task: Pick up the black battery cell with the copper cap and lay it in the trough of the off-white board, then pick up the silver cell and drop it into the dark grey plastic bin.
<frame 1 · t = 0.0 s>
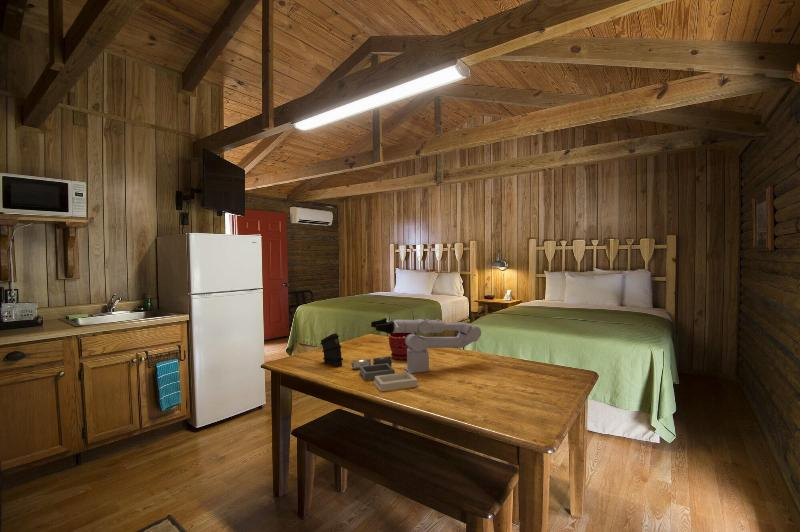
hand: (373, 326, 167), 22 cm above the table, tool horizontal, fingers open, 7 cm apart
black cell: (382, 365, 182), on the table
silver cell: (361, 368, 178), on the table
trough board: (395, 384, 156), on the table
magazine: (331, 364, 186), on the table
plant pot: (402, 357, 194), on the table
bin: (376, 375, 168), on the table
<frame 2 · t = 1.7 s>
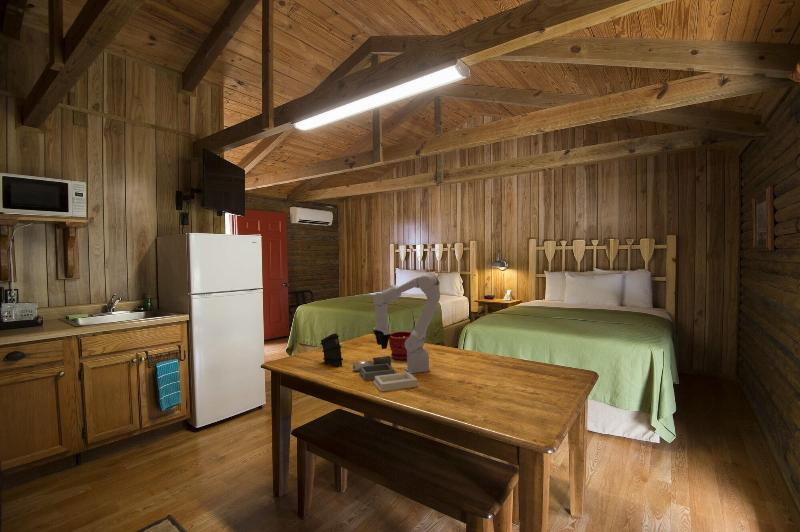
hand: (381, 346, 181), 9 cm above the table, tool pointing down, fingers open, 7 cm apart
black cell: (382, 365, 182), on the table, tilted 27°
silver cell: (362, 364, 177), point 2 cm above the table, tilted 88°
everything else where it was.
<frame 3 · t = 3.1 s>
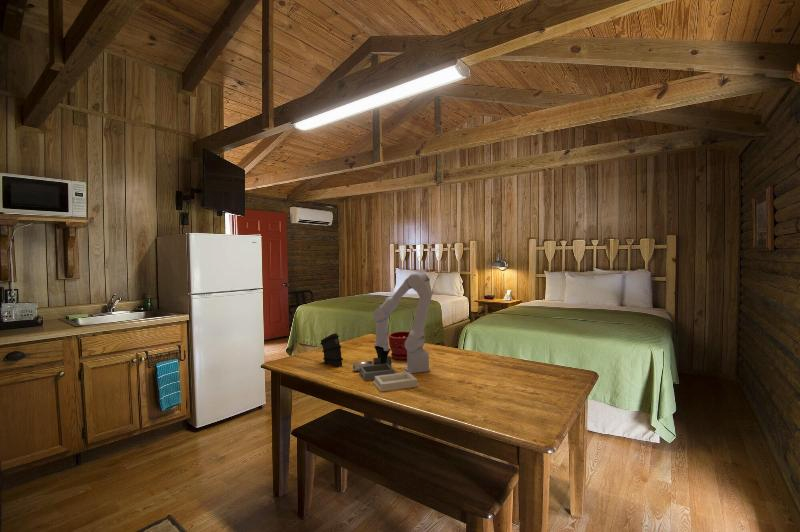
hand: (382, 362, 182), 2 cm above the table, tool pointing down, fingers closed on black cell, 4 cm apart
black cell: (382, 365, 182), on the table, touching gripper
silver cell: (362, 364, 177), point 2 cm above the table, tilted 95°
everything else where it was.
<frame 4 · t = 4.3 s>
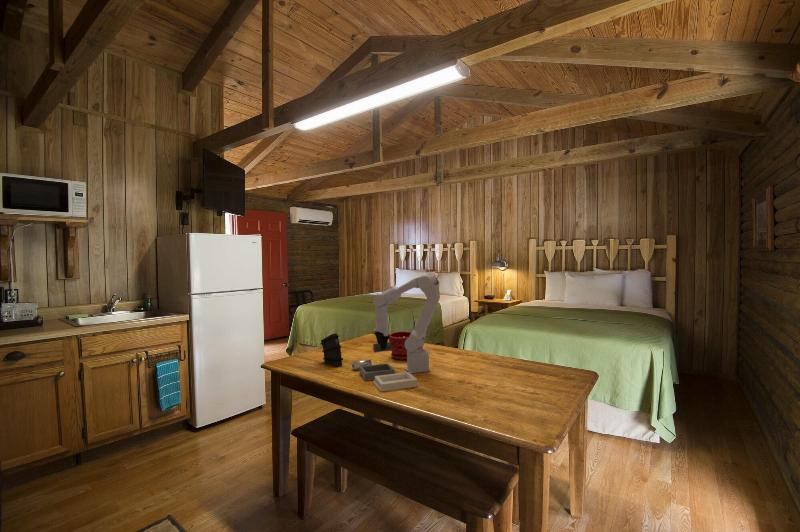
hand: (382, 348, 181), 8 cm above the table, tool pointing down, fingers closed on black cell, 4 cm apart
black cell: (382, 351, 181), point 7 cm above the table, touching gripper
silver cell: (361, 367, 178), on the table, tilted 35°
everything else where it was.
when the fingers open (4 cm above the table, at t = 7.2 s): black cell drops 1 cm, resting on trough board.
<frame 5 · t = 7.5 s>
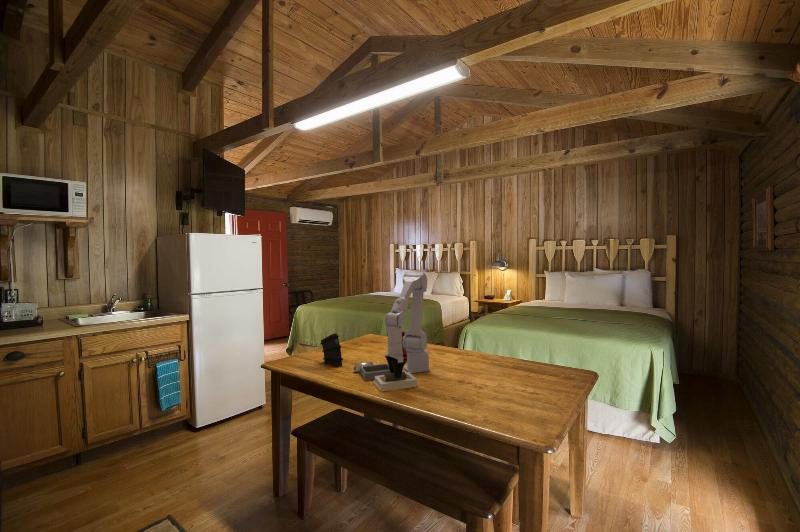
hand: (395, 375, 156), 4 cm above the table, tool pointing down, fingers open, 6 cm apart
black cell: (395, 382, 156), point 1 cm above the table, touching trough board
silver cell: (363, 362, 175), point 3 cm above the table, tilted 142°
everything else where it was.
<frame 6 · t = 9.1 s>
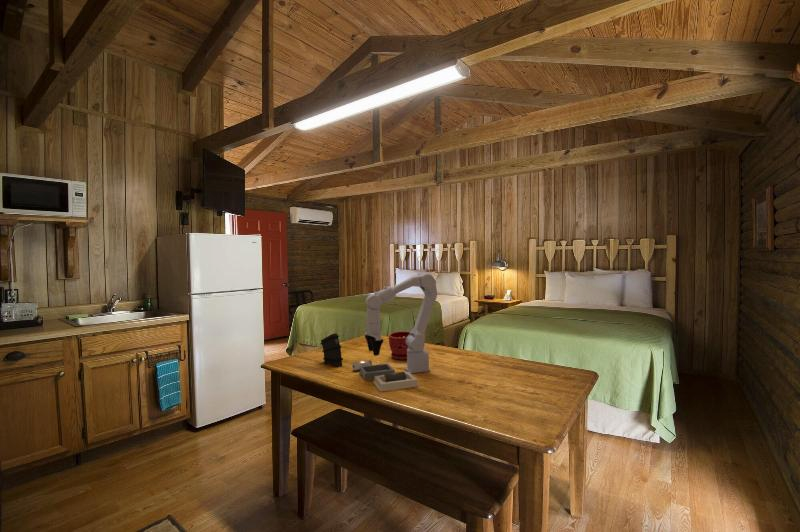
hand: (373, 353, 169), 9 cm above the table, tool pointing down, fingers open, 7 cm apart
silver cell: (361, 365, 178), point 1 cm above the table, tilted 73°
everything else where it was.
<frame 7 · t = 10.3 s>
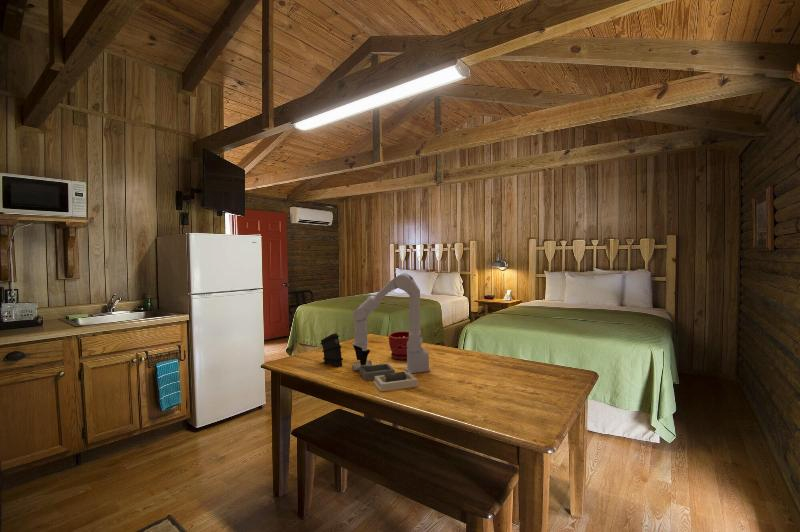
hand: (361, 362, 178), 3 cm above the table, tool pointing down, fingers open, 7 cm apart
silver cell: (361, 365, 178), point 1 cm above the table, tilted 75°, touching gripper
everything else where it was.
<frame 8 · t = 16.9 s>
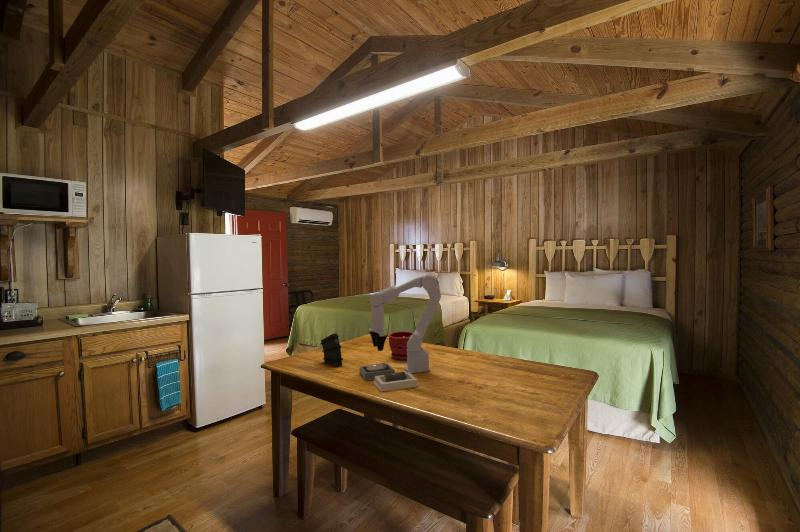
hand: (378, 348, 176), 9 cm above the table, tool pointing down, fingers open, 7 cm apart
silver cell: (375, 371, 169), point 1 cm above the table, tilted 33°, touching bin
everything else where it was.
at the end: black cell 0.1 cm off-centre on the trough board, point 0.8 cm above the trough board's base; silver cell inside the target area on the bin (1.1 cm from its centre), point 1.1 cm above the bin's base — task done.
